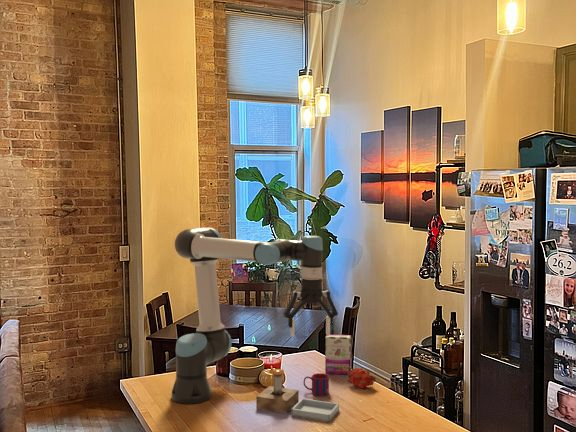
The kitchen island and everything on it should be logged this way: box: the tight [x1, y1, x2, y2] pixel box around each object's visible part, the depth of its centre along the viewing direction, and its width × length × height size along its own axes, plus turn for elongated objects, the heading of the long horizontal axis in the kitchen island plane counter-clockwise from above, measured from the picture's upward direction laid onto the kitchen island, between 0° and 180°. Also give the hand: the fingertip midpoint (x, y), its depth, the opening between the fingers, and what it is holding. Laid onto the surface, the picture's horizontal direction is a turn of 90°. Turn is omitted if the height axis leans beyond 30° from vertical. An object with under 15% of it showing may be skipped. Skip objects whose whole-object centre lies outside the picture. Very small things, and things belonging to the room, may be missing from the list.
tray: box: [290, 398, 340, 423], centre depth 207 cm, size 14×11×2 cm
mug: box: [303, 373, 330, 397], centre depth 228 cm, size 7×10×7 cm
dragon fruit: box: [346, 367, 377, 390], centre depth 234 cm, size 8×8×12 cm
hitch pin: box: [271, 368, 285, 396], centre depth 214 cm, size 4×4×13 cm
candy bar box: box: [324, 334, 352, 376], centre depth 252 cm, size 11×5×16 cm, turn 81°
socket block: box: [255, 385, 300, 414], centre depth 215 cm, size 12×12×4 cm
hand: (310, 335), depth 212 cm, fingers open, 13 cm apart
